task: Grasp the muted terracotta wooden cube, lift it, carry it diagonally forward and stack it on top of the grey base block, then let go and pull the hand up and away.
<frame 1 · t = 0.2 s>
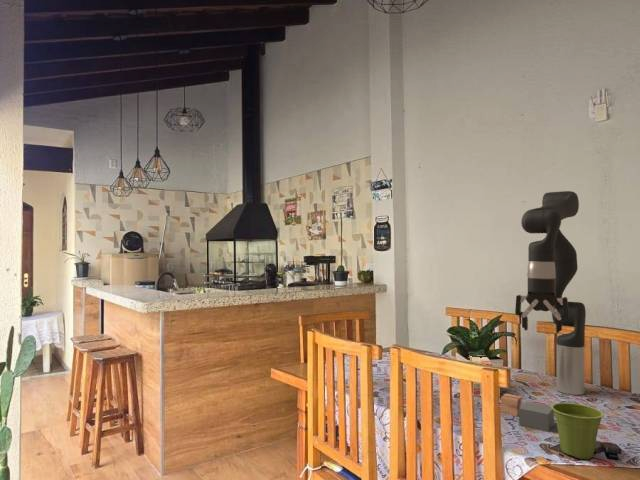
hand: (541, 331, 138), 28 cm above the table, fingers open, 8 cm apart
terracotta cube: (511, 412, 149), on the table
stack of blocks: (478, 389, 175), on the table
plant pot: (576, 454, 119), on the table
grey base block: (536, 424, 139), on the table
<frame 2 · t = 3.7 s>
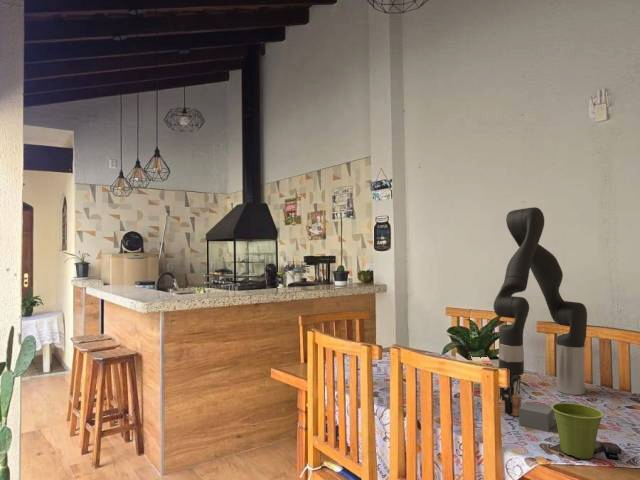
hand: (511, 410, 149), 0 cm above the table, fingers closed on terracotta cube, 5 cm apart
terracotta cube: (511, 412, 149), on the table, touching gripper
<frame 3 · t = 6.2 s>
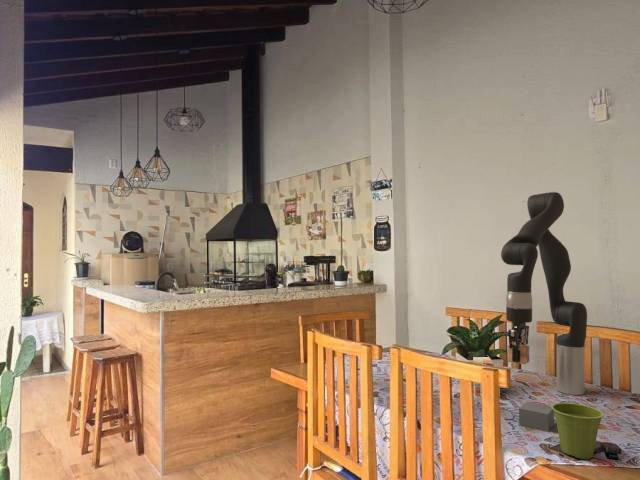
hand: (518, 360, 146), 18 cm above the table, fingers closed on terracotta cube, 5 cm apart
terracotta cube: (518, 361, 146), point 17 cm above the table, touching gripper
when the fingers open (7 cm above the table, at t = 8.9 s): terracotta cube drops 1 cm, resting on grey base block.
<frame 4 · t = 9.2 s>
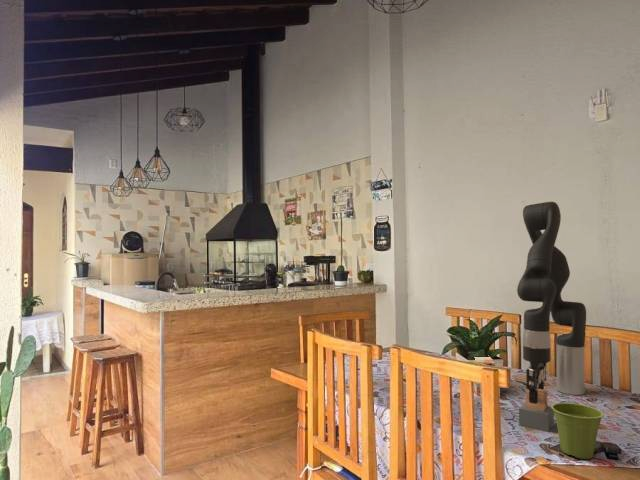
hand: (536, 399, 139), 7 cm above the table, fingers open, 7 cm apart
terracotta cube: (536, 407, 139), point 5 cm above the table, touching grey base block
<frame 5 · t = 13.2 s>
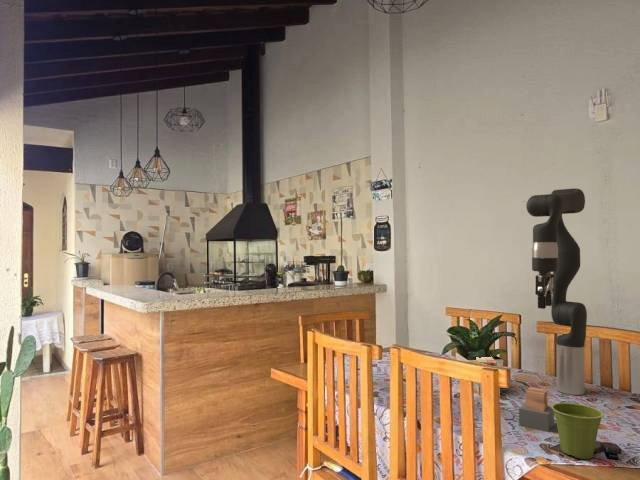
hand: (544, 307, 149), 34 cm above the table, fingers open, 8 cm apart
at the end: terracotta cube 0.1 cm off-centre on the grey base block, point 5.0 cm above the grey base block's base; terracotta cube tilted 0°; the gripper is holding nothing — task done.
